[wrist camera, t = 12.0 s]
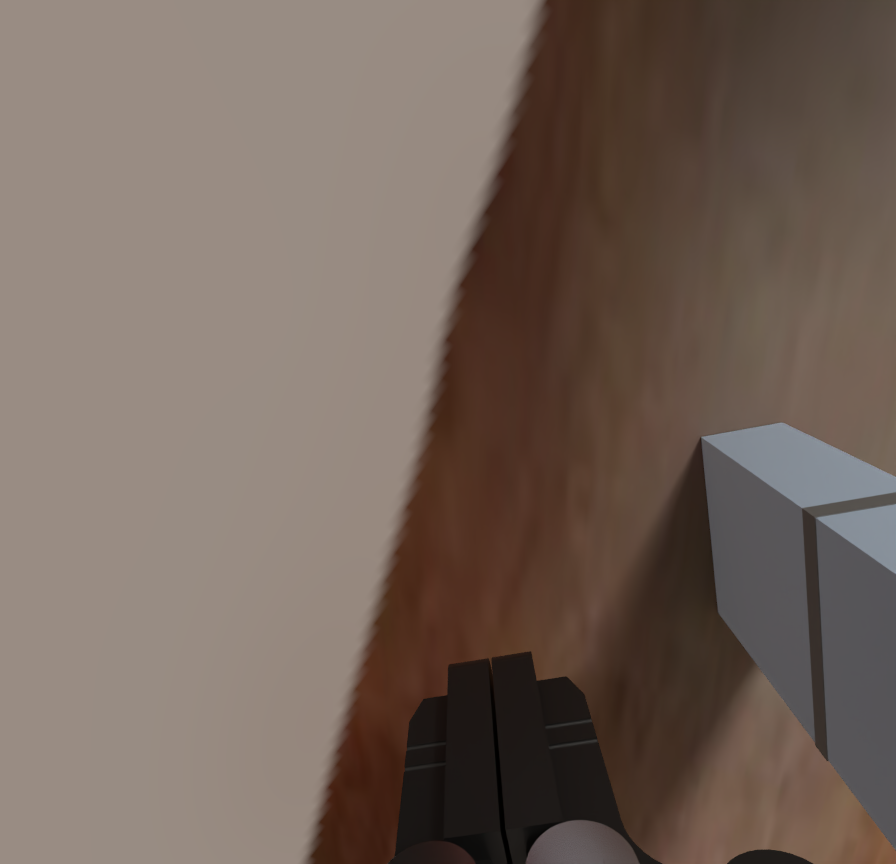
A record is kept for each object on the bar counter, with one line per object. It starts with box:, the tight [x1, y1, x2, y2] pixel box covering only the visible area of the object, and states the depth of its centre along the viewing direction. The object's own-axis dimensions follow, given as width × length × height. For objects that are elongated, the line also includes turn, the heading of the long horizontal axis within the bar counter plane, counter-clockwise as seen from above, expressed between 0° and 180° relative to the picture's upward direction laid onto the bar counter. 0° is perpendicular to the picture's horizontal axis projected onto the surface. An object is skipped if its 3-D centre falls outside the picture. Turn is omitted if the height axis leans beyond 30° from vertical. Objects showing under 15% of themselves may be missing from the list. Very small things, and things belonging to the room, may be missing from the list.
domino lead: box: [701, 422, 896, 850], centre depth 11 cm, size 5×2×10 cm, turn 11°
